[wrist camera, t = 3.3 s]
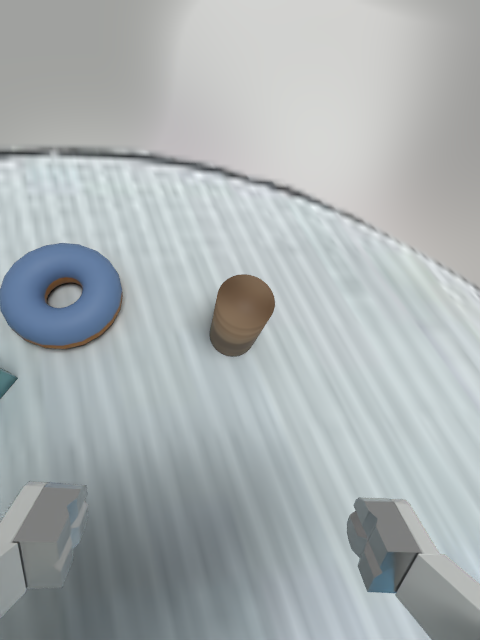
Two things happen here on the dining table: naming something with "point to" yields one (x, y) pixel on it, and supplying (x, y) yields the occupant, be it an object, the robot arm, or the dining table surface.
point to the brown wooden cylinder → (240, 314)
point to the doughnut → (43, 276)
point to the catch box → (6, 381)
